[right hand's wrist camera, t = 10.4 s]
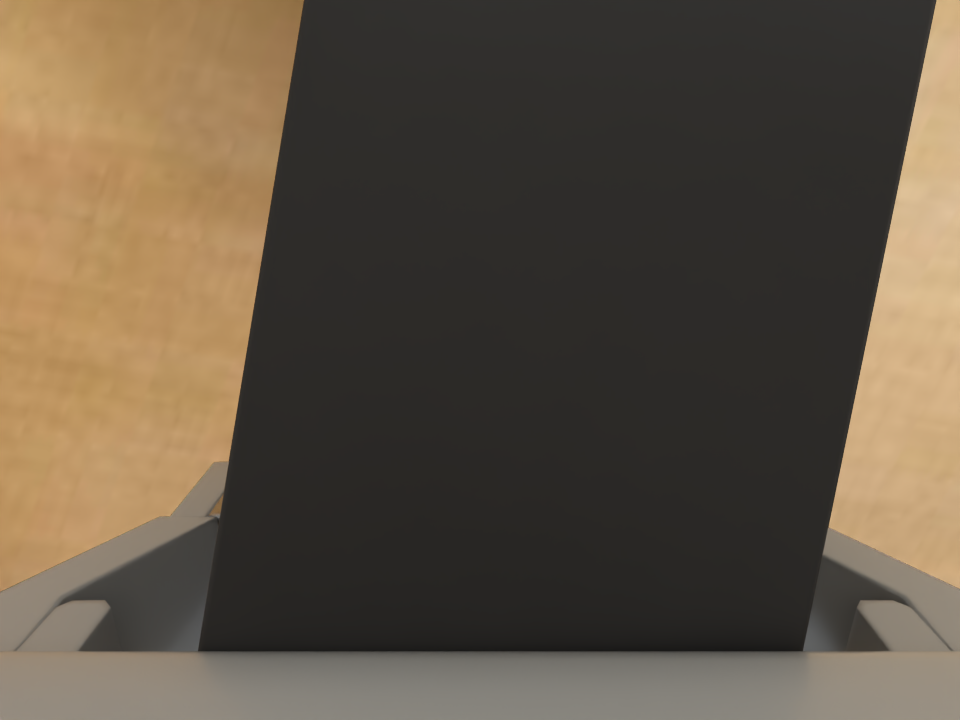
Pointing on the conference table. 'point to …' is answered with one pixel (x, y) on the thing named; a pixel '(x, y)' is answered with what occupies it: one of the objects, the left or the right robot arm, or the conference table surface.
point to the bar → (560, 323)
